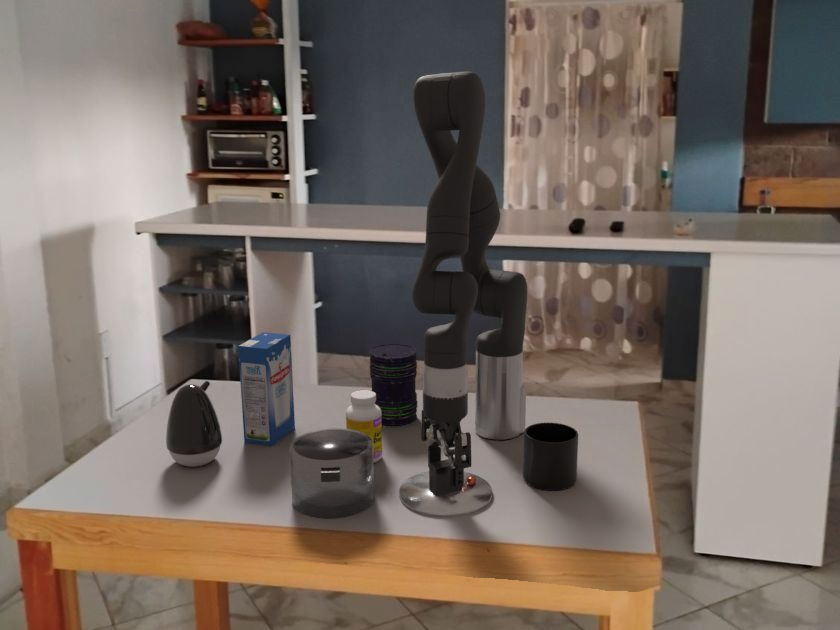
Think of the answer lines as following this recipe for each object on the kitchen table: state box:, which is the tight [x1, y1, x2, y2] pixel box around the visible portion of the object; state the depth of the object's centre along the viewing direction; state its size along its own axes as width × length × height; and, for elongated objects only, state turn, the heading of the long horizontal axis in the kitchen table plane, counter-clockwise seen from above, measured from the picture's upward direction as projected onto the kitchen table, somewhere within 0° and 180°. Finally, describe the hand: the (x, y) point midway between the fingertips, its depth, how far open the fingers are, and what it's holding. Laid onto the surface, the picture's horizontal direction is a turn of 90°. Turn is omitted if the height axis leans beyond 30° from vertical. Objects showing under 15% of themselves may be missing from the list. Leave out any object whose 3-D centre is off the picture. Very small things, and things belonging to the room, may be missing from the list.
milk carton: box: [237, 331, 296, 447], centre depth 176 cm, size 10×6×20 cm, turn 161°
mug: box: [522, 422, 579, 491], centre depth 158 cm, size 9×12×9 cm
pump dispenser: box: [165, 380, 223, 468], centre depth 165 cm, size 10×10×15 cm
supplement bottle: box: [345, 389, 383, 464], centre depth 166 cm, size 7×7×13 cm
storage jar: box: [369, 343, 418, 428], centre depth 185 cm, size 10×10×15 cm
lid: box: [398, 457, 493, 518], centre depth 152 cm, size 16×16×6 cm
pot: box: [289, 427, 375, 519], centre depth 151 cm, size 18×14×10 cm
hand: (445, 477), depth 152 cm, fingers open, 8 cm apart
